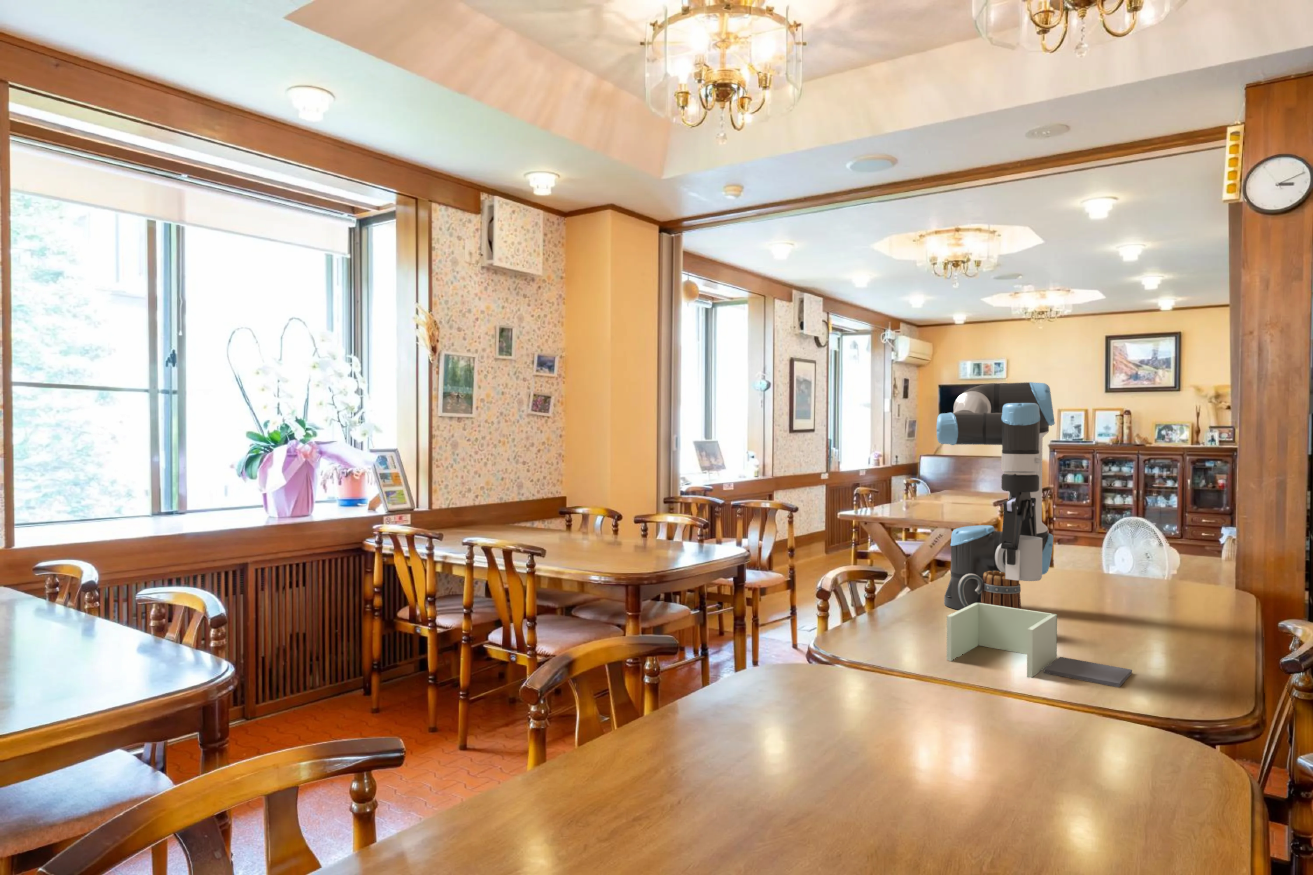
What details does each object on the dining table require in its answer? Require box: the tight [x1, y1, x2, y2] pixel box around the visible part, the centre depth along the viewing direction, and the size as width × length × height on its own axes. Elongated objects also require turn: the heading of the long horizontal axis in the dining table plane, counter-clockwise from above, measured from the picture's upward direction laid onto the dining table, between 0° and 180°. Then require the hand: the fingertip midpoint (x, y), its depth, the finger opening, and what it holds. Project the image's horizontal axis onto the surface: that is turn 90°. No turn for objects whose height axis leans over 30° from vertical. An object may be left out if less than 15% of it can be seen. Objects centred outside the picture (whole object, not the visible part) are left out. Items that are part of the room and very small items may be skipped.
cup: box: [995, 535, 1043, 582], centre depth 173 cm, size 7×10×9 cm
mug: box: [958, 571, 1022, 609], centre depth 201 cm, size 16×11×15 cm
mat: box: [1043, 656, 1133, 688], centre depth 168 cm, size 14×12×1 cm
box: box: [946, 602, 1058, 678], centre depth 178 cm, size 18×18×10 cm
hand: (1019, 576), depth 174 cm, fingers closed on cup, 8 cm apart
